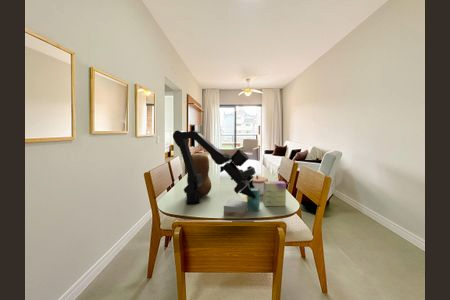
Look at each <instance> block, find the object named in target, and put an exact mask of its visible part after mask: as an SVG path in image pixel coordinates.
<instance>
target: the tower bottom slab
mask: <svg viewBox="0 0 450 300" xmlns="http://www.w3.org/2000/svg"><path fill="white" fill-rule="evenodd" d="M247 212H248V210H247V209H246V210H245V211H244V213H235V212H227V211H224V210H223V216H227V217H235V218H244V216H246V213H247Z"/></svg>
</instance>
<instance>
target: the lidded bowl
mask: <svg viewBox="0 0 450 300" xmlns="http://www.w3.org/2000/svg"><path fill="white" fill-rule="evenodd" d="M253 177H254V178H253V179H251V181H252V180H253V185H254V187H255V188H260V196H262V195H264V181H269V178H268V177H265V176H259V175H256V176H253Z"/></svg>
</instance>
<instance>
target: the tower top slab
mask: <svg viewBox="0 0 450 300" xmlns="http://www.w3.org/2000/svg"><path fill="white" fill-rule="evenodd" d="M247 208H248V202H247V201H243V200H234V199H229V200H228V201H227V202H226V203H225V204H224V205H223V212H224V211H227V212H235V213H244V211H245V210H246V209H247Z"/></svg>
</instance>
